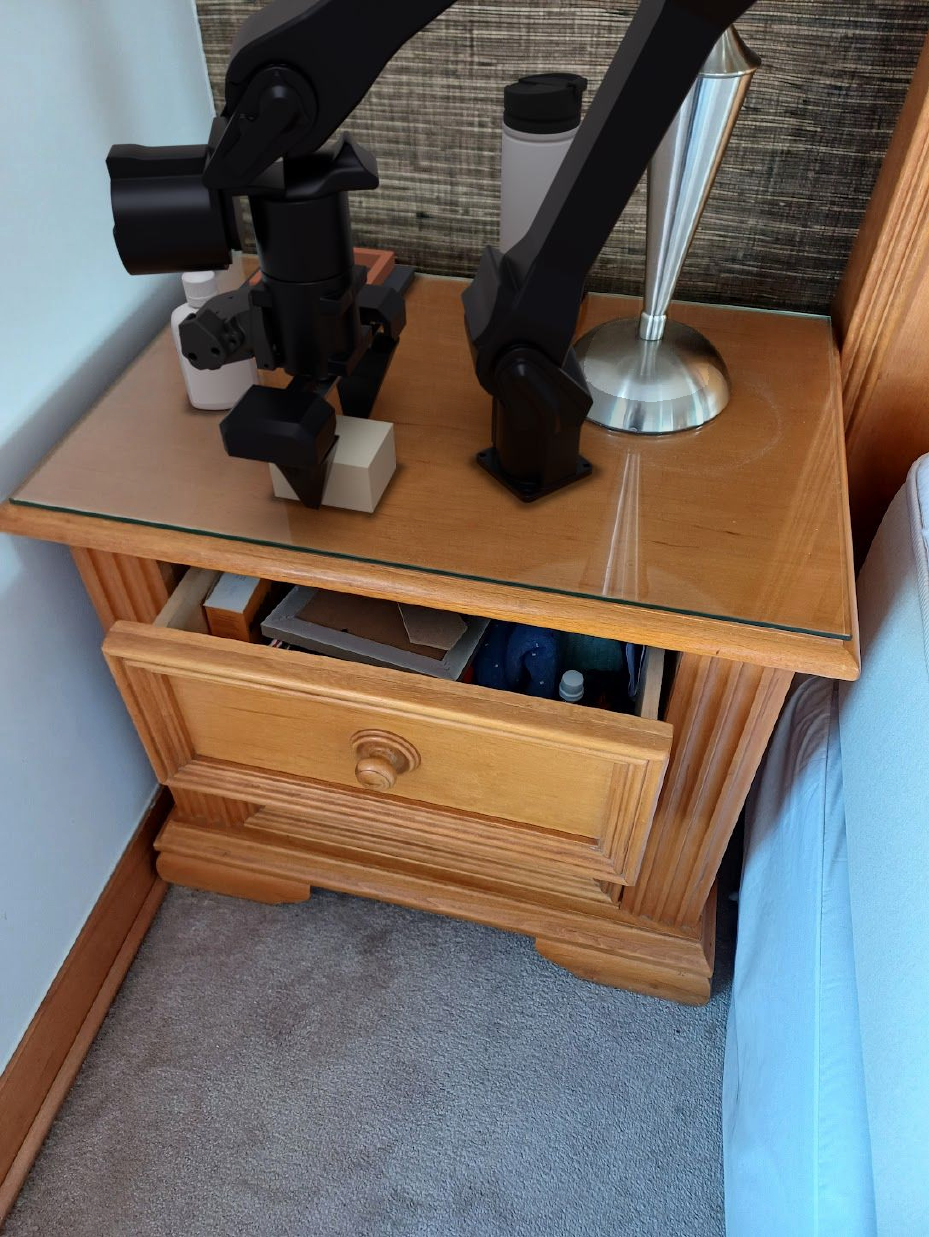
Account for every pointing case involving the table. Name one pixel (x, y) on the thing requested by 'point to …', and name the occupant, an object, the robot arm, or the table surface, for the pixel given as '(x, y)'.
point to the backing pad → (370, 270)
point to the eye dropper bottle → (207, 385)
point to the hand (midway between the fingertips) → (335, 469)
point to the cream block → (353, 465)
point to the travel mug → (534, 145)
